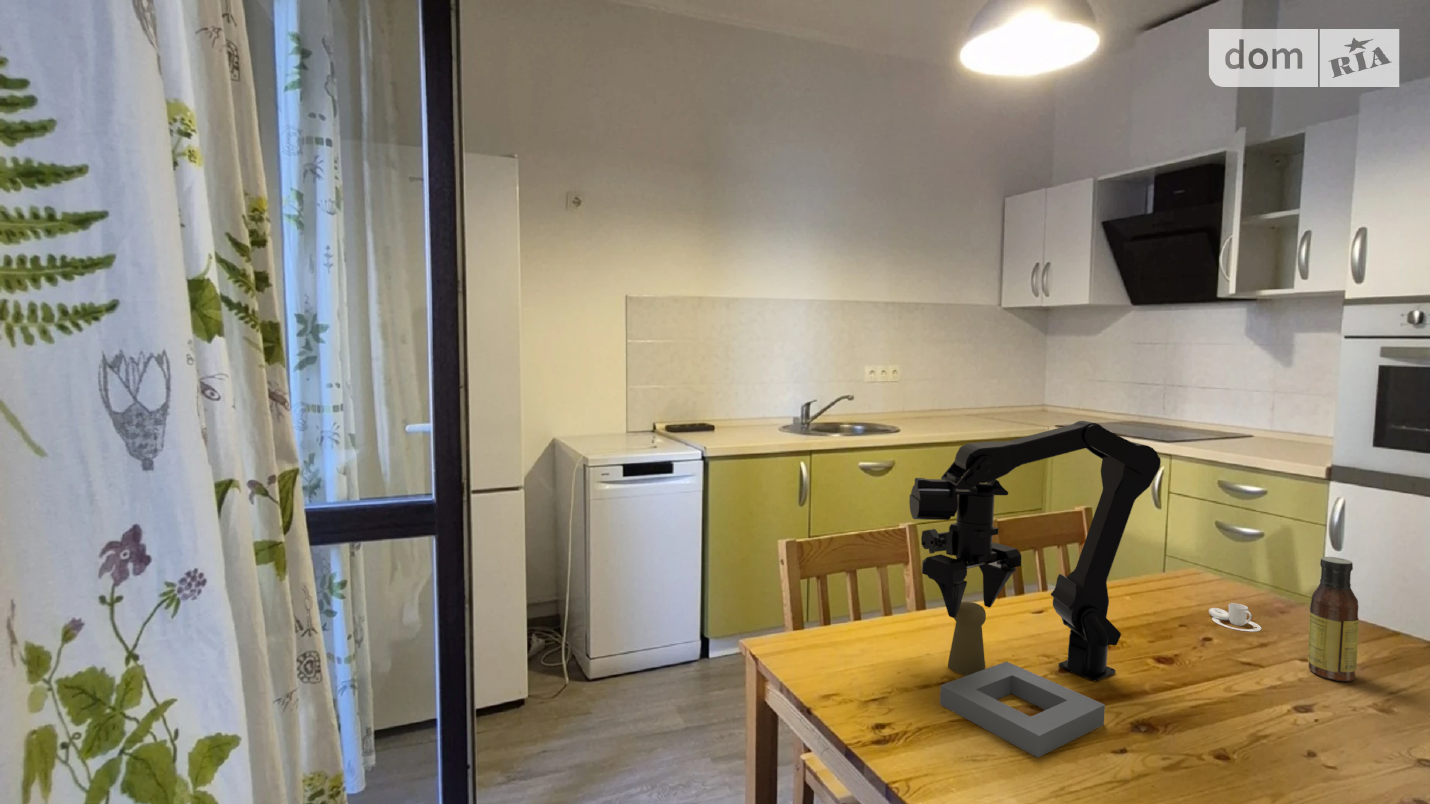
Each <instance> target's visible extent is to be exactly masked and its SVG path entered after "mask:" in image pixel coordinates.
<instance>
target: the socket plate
mask: <svg viewBox="0 0 1430 804" xmlns="http://www.w3.org/2000/svg"><path fill="white" fill-rule="evenodd" d="M1011 694H1012V695H1014V696H1015V697H1017V698H1020V699H1021V700H1024V701H1025V702H1028V703H1030V704H1032V705H1034V706H1036V707H1038V708H1040V709H1043V711H1040V712H1038V713H1036V714H1034V715H1031V716H1030V715H1028V714H1026V713H1024V712H1022V711H1020V710H1018V709H1017V708H1014V707H1012V706H1010V705H1008V704H1006V703H1004V702H1002V701H999V699H1002V698H1004V697H1007V696H1010V695H1011ZM939 705H940V706H941V707H944V708H946V709H947V710H949V711H951V712H953V713H955V714H957V715H958V716H960V717H962V718H964V719H965V720H968V721H969V722H972V723H973V724H975V725H977V726H979V727H981V728H983V729H984V730H986V731H988V732H990V733H991V734H993V735H995V736H997V737H998V738H1000V739H1003V740H1004V741H1006V742H1007V743H1009V744H1012V745H1013V746H1016V747H1018V748H1019V749H1021V750H1023V751H1024V752H1026V753H1027V754H1030V755H1031V756H1033V757H1036V758H1037V759H1038V758H1040V757H1043V756H1044V755H1046V754H1048V753H1050V752H1052V751H1054V750H1056V749H1058V748H1060V747H1062V746H1064V745H1066V744H1068V743H1071V742H1072V741H1074V740H1076V739H1078V738H1079V737H1082V736H1085V735H1086V734H1088V733H1090V732H1092V731H1094V730H1096V729H1098V728H1100V727H1102V726H1104V724H1105V713H1106V712H1105V709H1106V704H1104V703H1102V702H1100V701H1098V700H1095V699H1093V698H1091V697H1088V696H1086V695H1084V694H1081V693H1079V692H1077V691H1075V690H1073V689H1070V688H1068V687H1066V686H1063V685H1061V684H1058V683H1056V682H1054V681H1052V680H1049V679H1048V678H1046V677H1043V676H1041V675H1038V674H1036V673H1033V672H1031V671H1030V670H1026V669H1024V668H1023V667H1020V666H1018V665H1016V664H1013V663H1011V662H1008V661H1003V662H1001V663H998V664H996V665H993V666H990V667H986V668H985V669H984V670H981V671H979V672H976V673H973V674H970V675H964V676H962V677H959V678H957V679H954V680H952V681H948V682H945V683H943V684H941V685H940V692H939Z"/></svg>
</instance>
